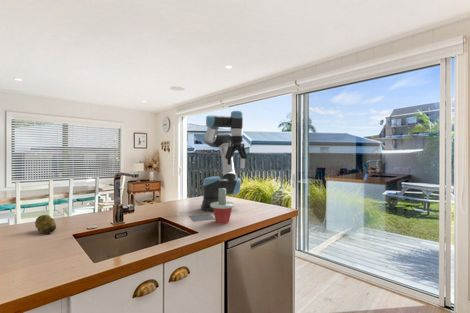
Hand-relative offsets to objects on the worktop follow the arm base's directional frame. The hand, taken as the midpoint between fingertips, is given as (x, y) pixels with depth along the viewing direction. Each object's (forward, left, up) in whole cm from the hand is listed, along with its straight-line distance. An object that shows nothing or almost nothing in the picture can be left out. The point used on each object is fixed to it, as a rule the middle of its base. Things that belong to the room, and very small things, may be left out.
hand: (236, 169), depth 159 cm
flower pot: (+9, -12, -31) cm, 34 cm away
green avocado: (-6, -102, -31) cm, 107 cm away
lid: (+9, -12, -21) cm, 26 cm away
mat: (-4, -21, -30) cm, 37 cm away
